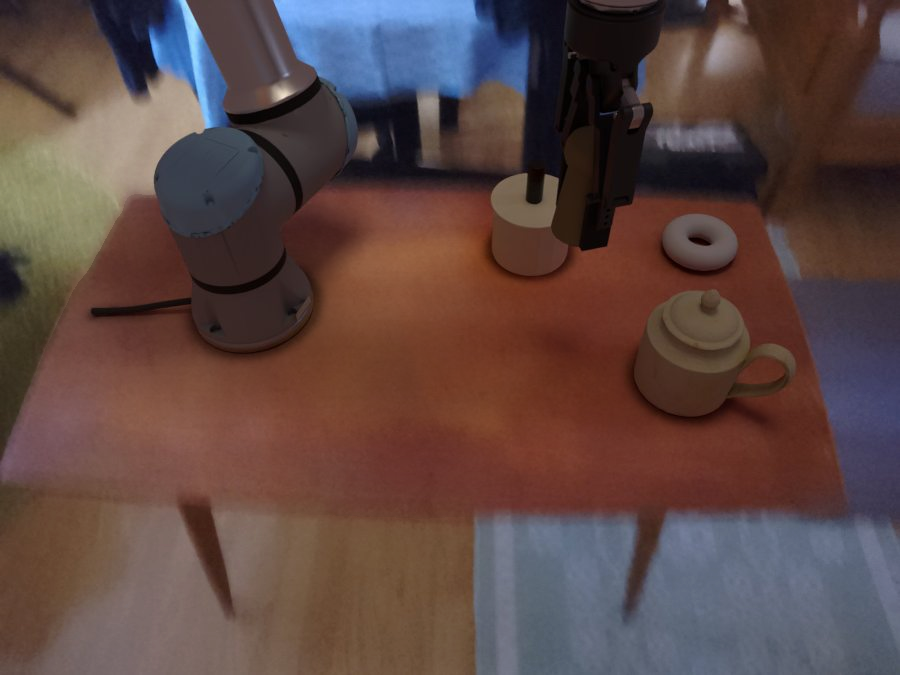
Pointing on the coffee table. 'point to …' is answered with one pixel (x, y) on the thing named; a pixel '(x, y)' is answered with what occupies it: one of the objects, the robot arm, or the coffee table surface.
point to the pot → (526, 249)
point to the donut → (698, 255)
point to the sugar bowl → (701, 355)
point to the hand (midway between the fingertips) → (580, 224)
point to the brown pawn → (575, 186)
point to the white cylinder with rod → (527, 198)
